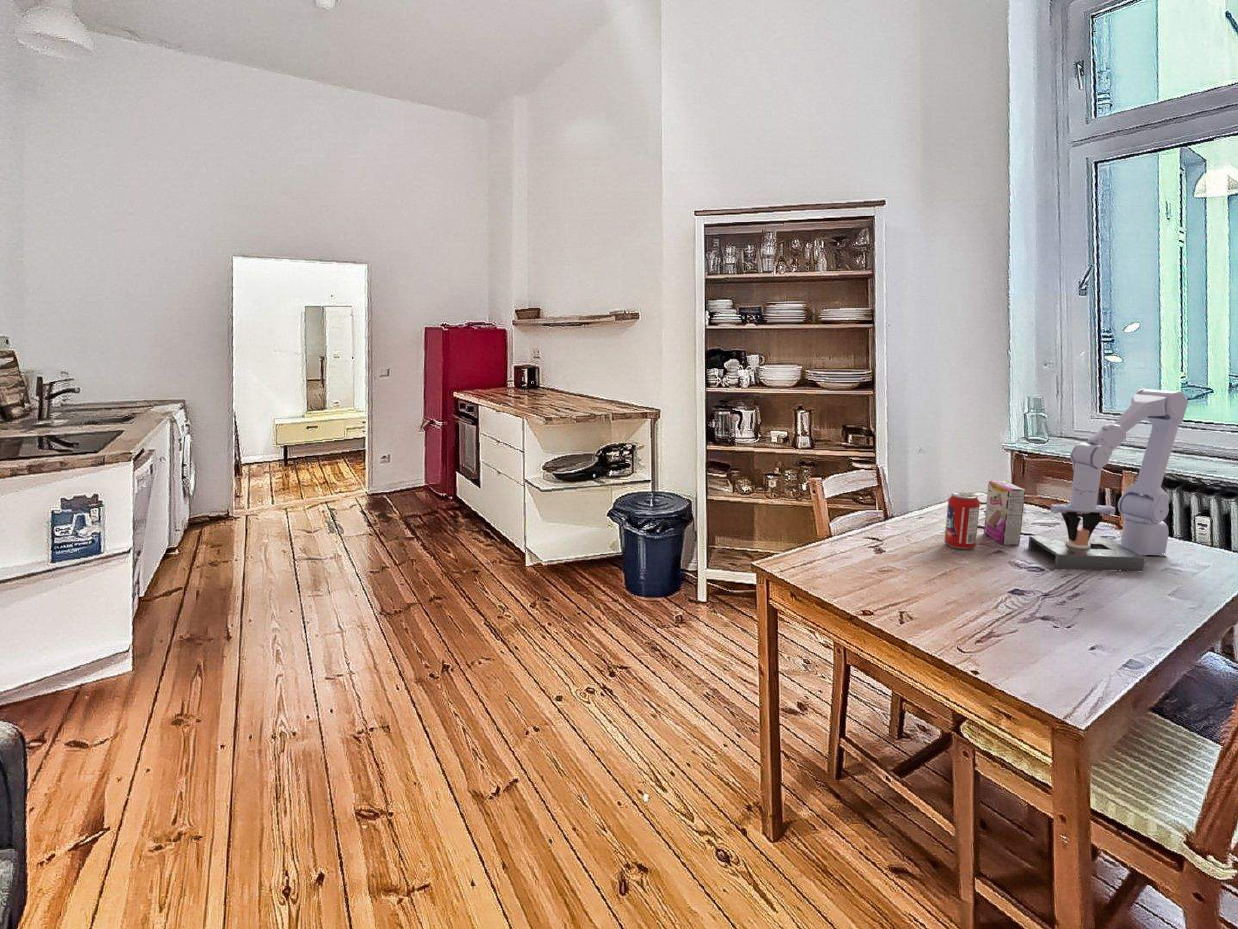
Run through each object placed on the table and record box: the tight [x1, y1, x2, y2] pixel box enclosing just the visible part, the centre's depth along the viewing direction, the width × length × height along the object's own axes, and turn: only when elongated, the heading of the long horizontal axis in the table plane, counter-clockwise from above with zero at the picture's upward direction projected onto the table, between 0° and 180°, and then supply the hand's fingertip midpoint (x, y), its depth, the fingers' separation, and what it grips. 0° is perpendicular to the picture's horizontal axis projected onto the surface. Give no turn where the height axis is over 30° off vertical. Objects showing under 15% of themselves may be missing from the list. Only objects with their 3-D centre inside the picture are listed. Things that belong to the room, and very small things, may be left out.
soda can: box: [943, 491, 981, 551], centre depth 187 cm, size 8×8×15 cm
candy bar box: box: [983, 480, 1026, 546], centre depth 193 cm, size 11×5×16 cm, turn 179°
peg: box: [1066, 525, 1091, 549], centre depth 176 cm, size 5×5×7 cm
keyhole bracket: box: [1027, 535, 1146, 572], centre depth 176 cm, size 20×16×4 cm
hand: (1078, 540), depth 176 cm, fingers closed on peg, 3 cm apart
